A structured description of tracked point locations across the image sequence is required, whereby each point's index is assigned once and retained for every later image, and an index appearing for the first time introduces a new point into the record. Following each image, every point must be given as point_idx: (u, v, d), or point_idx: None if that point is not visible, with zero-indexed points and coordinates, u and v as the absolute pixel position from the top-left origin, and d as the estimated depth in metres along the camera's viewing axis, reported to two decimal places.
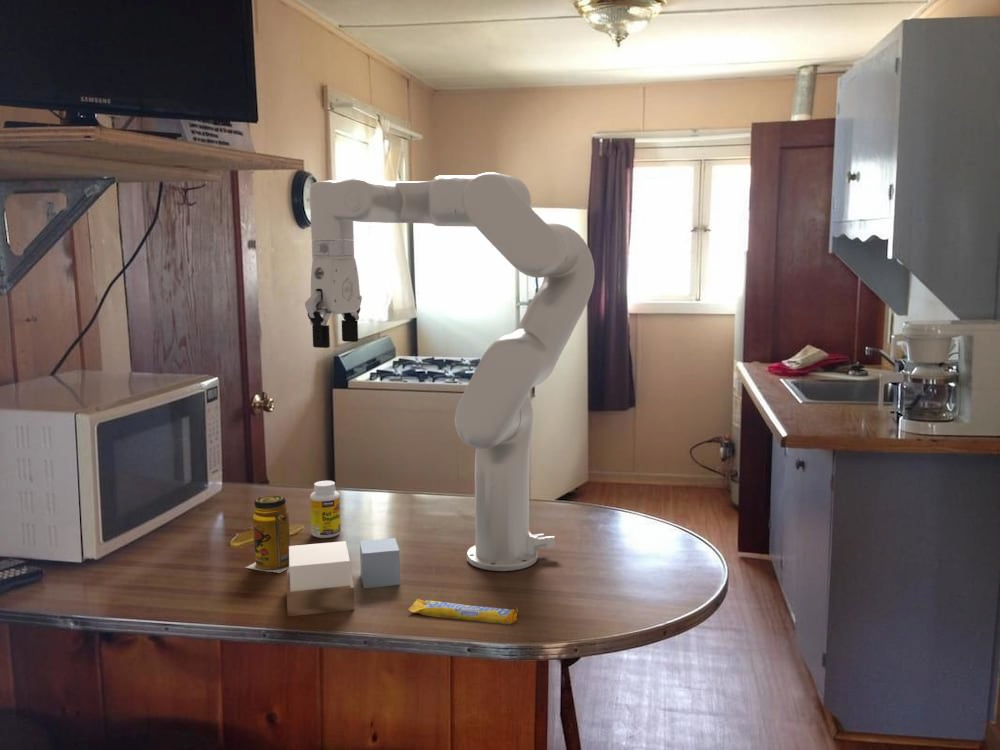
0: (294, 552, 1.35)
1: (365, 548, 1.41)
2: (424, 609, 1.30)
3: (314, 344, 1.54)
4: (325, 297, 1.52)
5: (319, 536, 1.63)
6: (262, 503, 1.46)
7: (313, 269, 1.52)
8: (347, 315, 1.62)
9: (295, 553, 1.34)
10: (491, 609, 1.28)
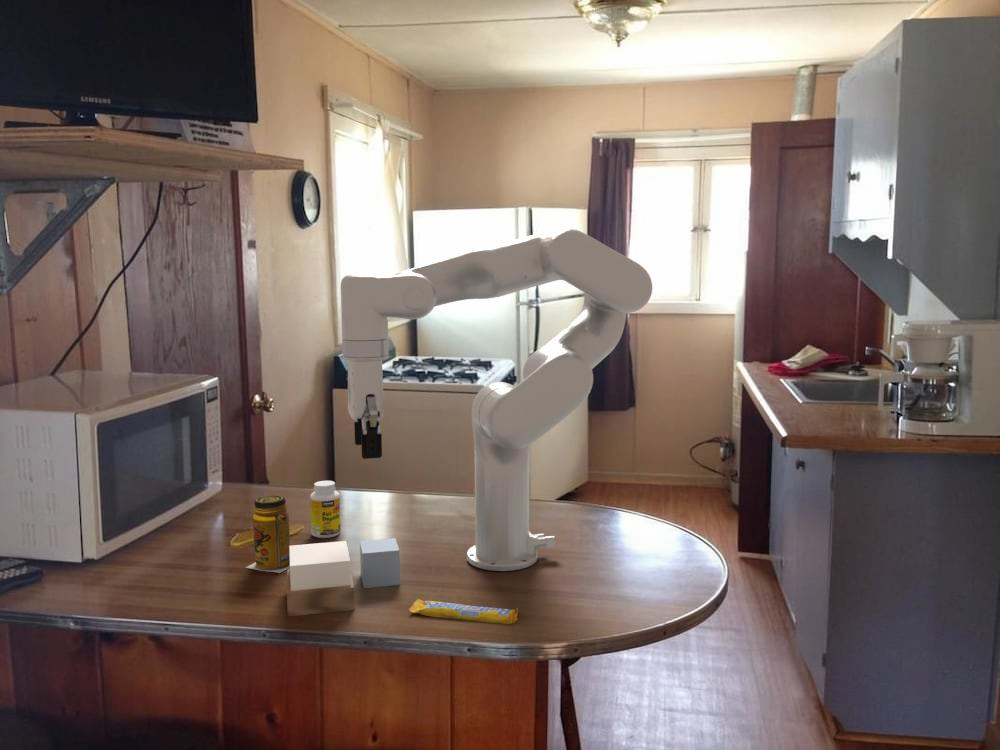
0: (294, 551, 1.35)
1: (365, 548, 1.41)
2: (424, 609, 1.29)
3: None
4: None
5: (319, 536, 1.63)
6: (262, 503, 1.46)
7: None
8: None
9: (295, 553, 1.34)
10: (491, 609, 1.28)
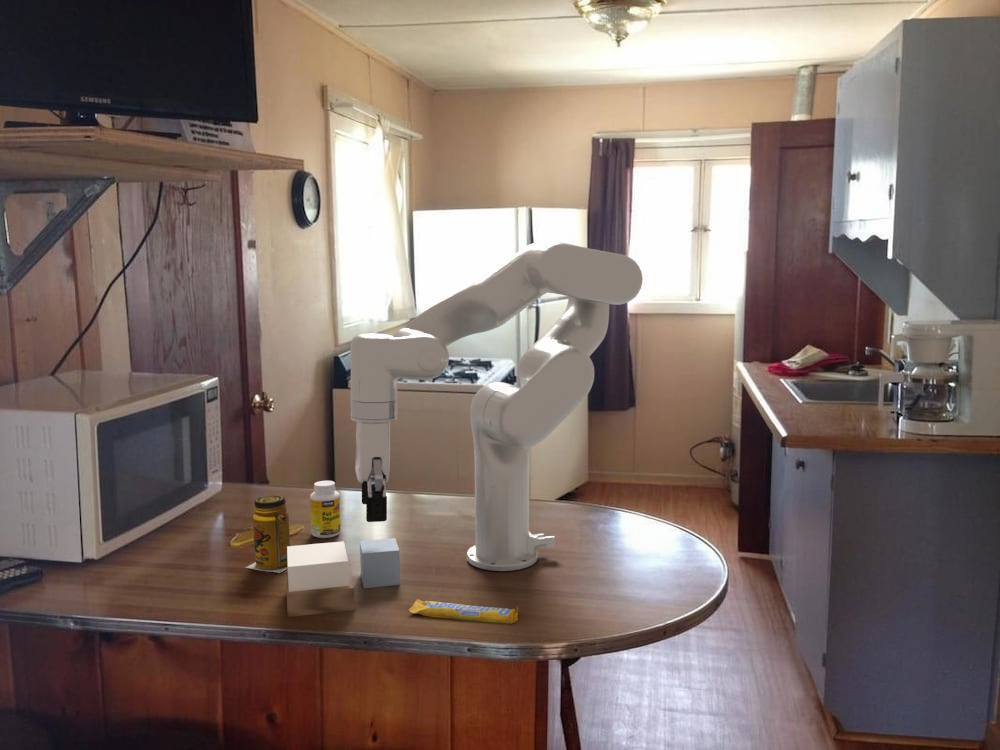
0: (292, 552, 1.35)
1: (365, 548, 1.41)
2: (424, 610, 1.29)
3: None
4: None
5: (319, 536, 1.63)
6: (262, 503, 1.46)
7: None
8: None
9: (293, 554, 1.34)
10: (492, 609, 1.28)
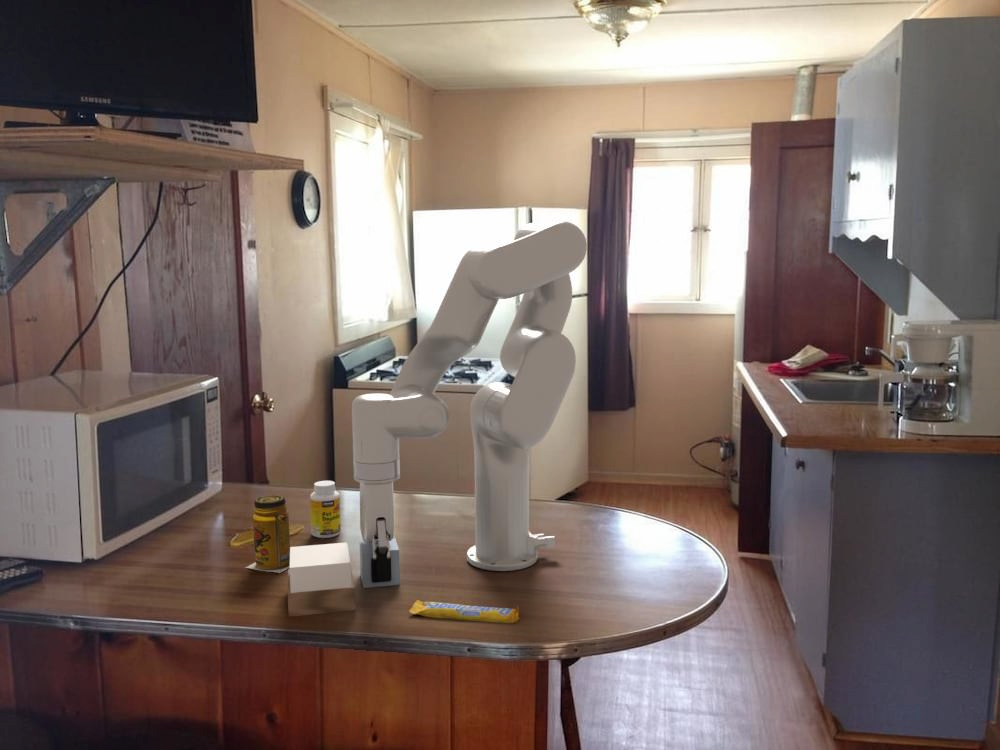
0: (295, 553, 1.35)
1: (364, 547, 1.41)
2: (425, 610, 1.29)
3: None
4: None
5: (319, 536, 1.63)
6: (262, 503, 1.46)
7: None
8: None
9: (295, 554, 1.34)
10: (492, 609, 1.29)
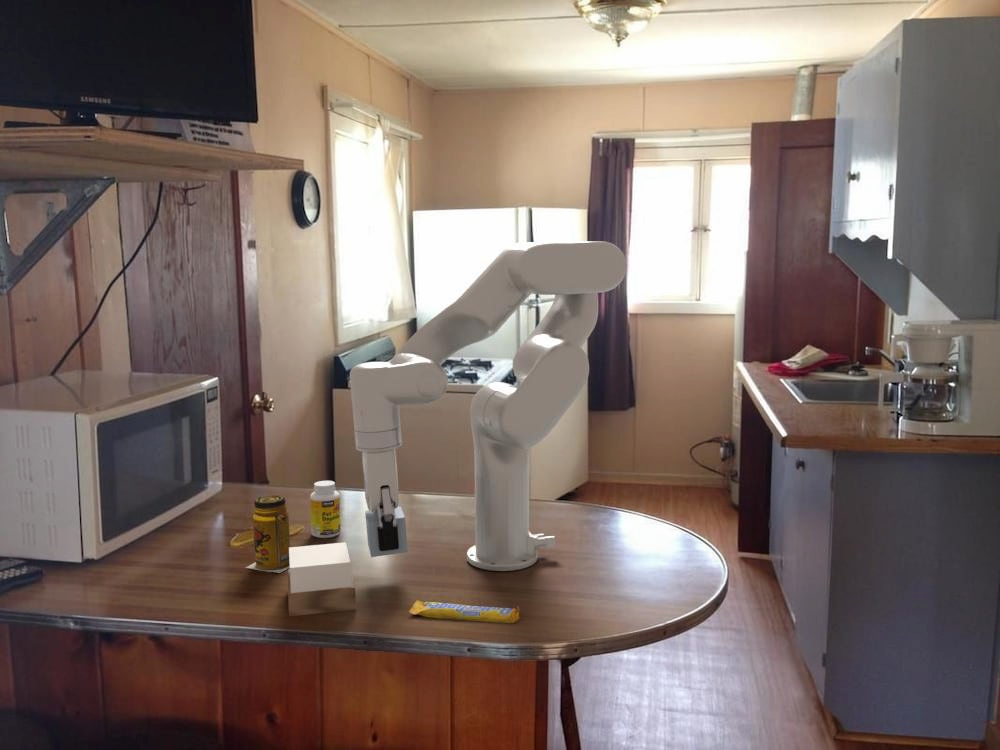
0: (294, 553, 1.35)
1: (370, 517, 1.41)
2: (425, 611, 1.29)
3: None
4: None
5: (319, 536, 1.63)
6: (262, 503, 1.46)
7: None
8: None
9: (295, 555, 1.34)
10: (493, 609, 1.29)
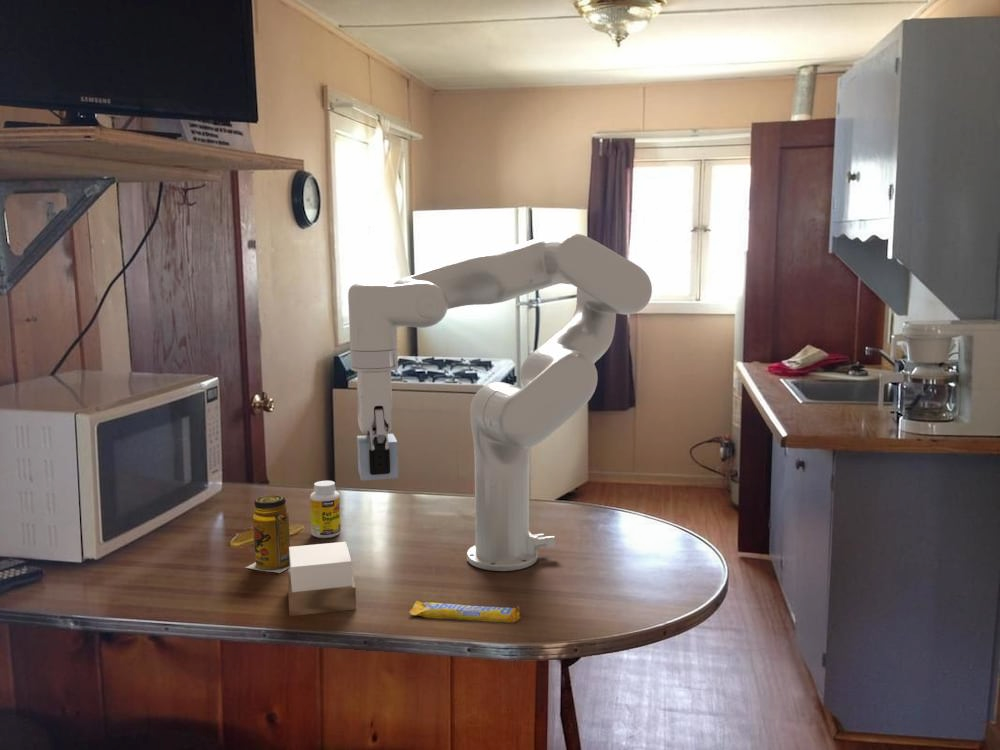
0: (295, 552, 1.35)
1: (362, 440, 1.39)
2: (425, 611, 1.29)
3: None
4: None
5: (319, 536, 1.63)
6: (262, 503, 1.46)
7: None
8: None
9: (295, 554, 1.34)
10: (493, 608, 1.29)
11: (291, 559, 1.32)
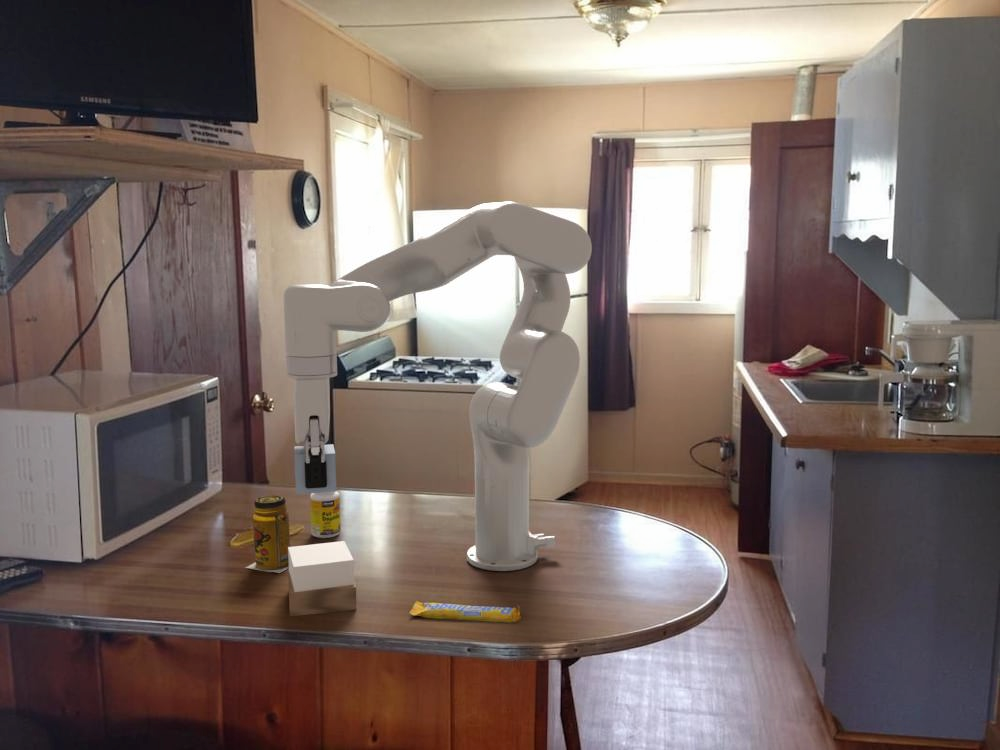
0: (295, 552, 1.35)
1: (298, 451, 1.31)
2: (425, 611, 1.29)
3: None
4: None
5: (319, 536, 1.63)
6: (262, 503, 1.46)
7: None
8: None
9: (296, 554, 1.34)
10: (493, 608, 1.29)
11: (292, 559, 1.32)
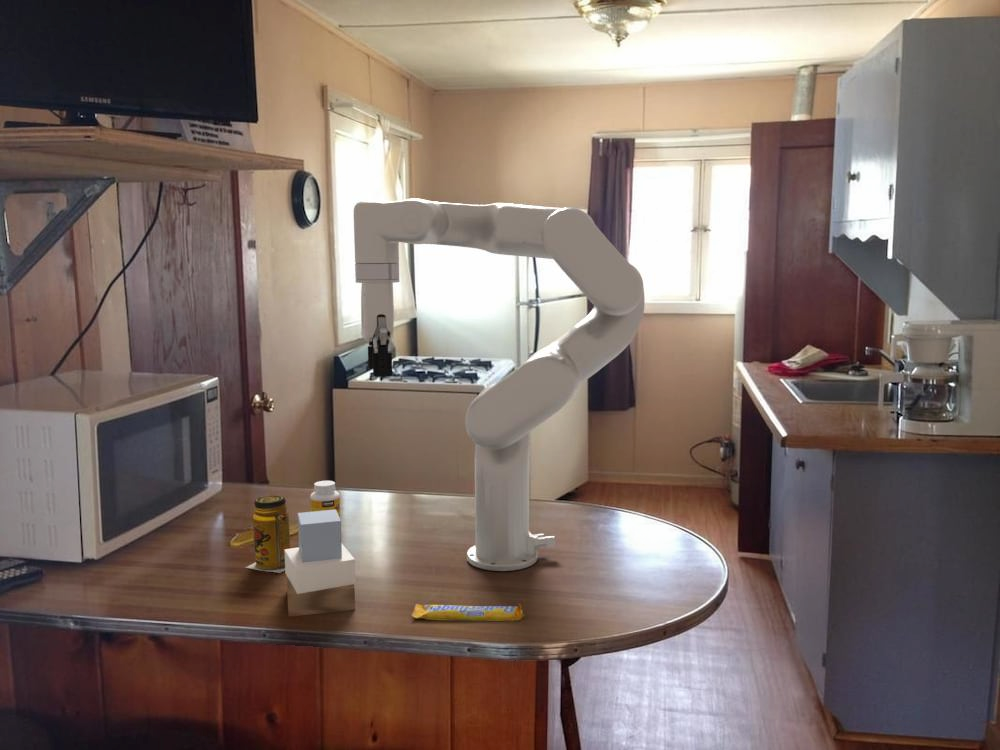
0: (293, 554, 1.34)
1: (303, 519, 1.32)
2: (428, 614, 1.28)
3: None
4: None
5: None
6: (262, 503, 1.46)
7: None
8: None
9: (294, 556, 1.33)
10: (496, 608, 1.29)
11: (292, 561, 1.31)
